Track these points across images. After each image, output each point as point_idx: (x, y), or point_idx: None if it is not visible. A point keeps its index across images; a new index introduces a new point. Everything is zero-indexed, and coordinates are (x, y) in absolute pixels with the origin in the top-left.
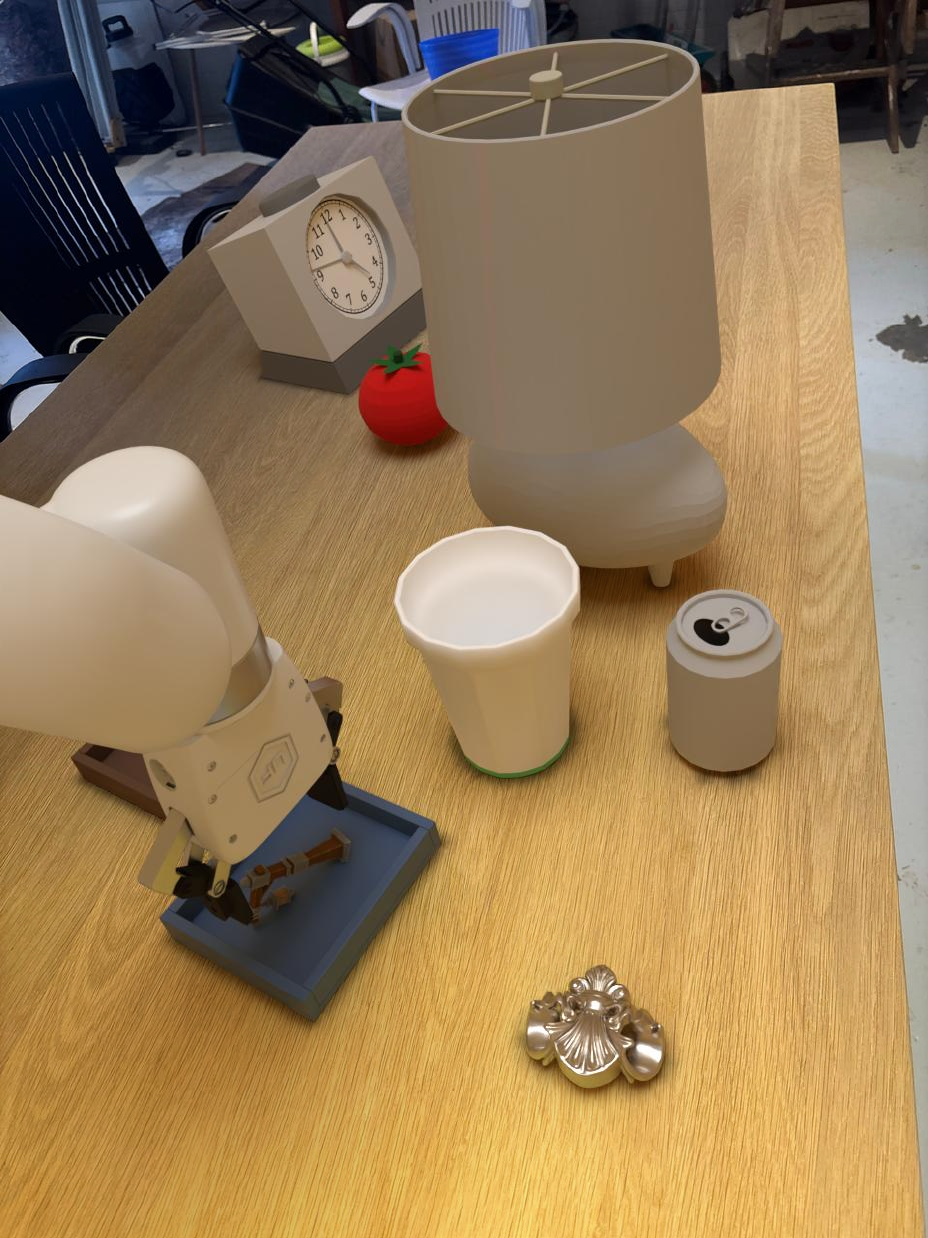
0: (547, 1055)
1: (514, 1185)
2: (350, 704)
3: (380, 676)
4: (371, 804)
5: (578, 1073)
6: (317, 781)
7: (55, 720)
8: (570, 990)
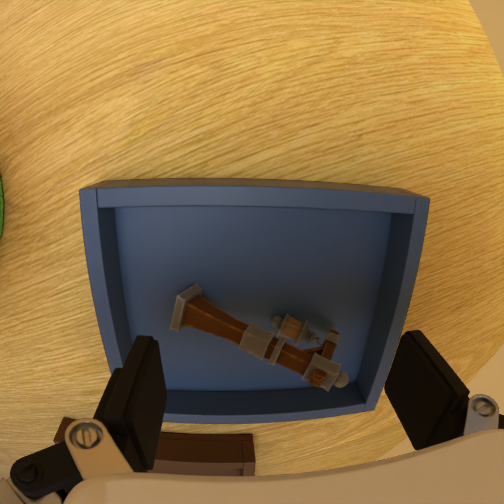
0: None
1: None
2: (41, 389)
3: (5, 376)
4: (109, 303)
5: None
6: (148, 415)
7: None
8: None
